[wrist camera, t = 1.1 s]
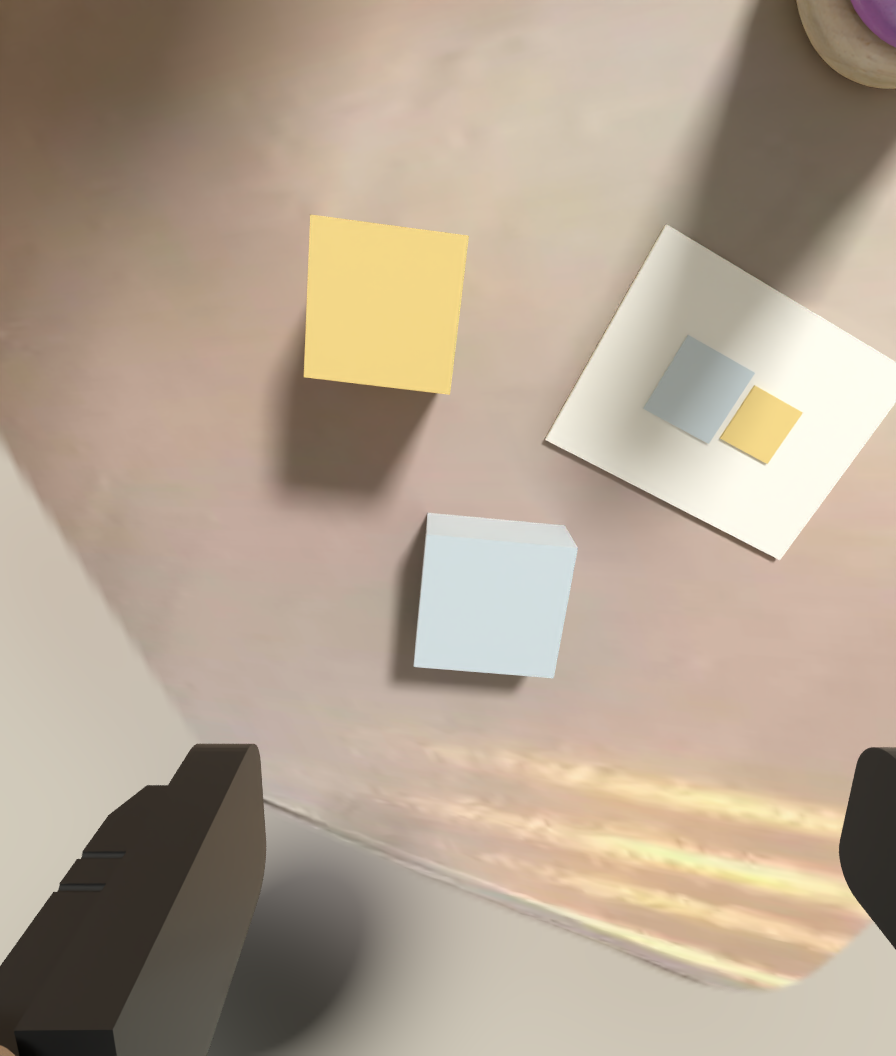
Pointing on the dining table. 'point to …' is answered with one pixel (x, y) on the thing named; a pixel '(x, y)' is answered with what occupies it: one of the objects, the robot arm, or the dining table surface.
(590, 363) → the page
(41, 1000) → the robot arm
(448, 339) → the ochre brick
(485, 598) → the base brick
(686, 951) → the dining table surface
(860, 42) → the stacking toy
